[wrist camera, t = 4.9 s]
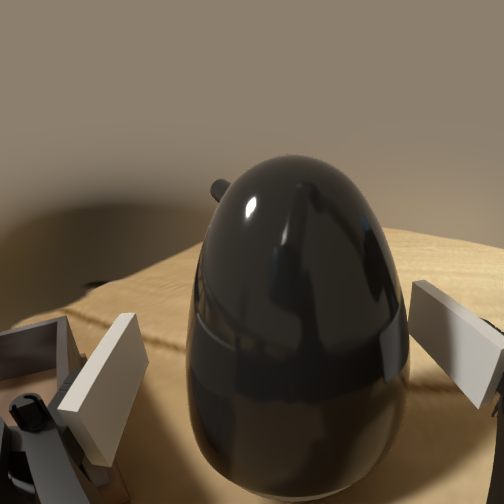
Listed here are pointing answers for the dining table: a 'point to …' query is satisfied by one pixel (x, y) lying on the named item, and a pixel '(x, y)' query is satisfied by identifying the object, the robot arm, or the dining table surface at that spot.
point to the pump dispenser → (295, 333)
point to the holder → (49, 383)
